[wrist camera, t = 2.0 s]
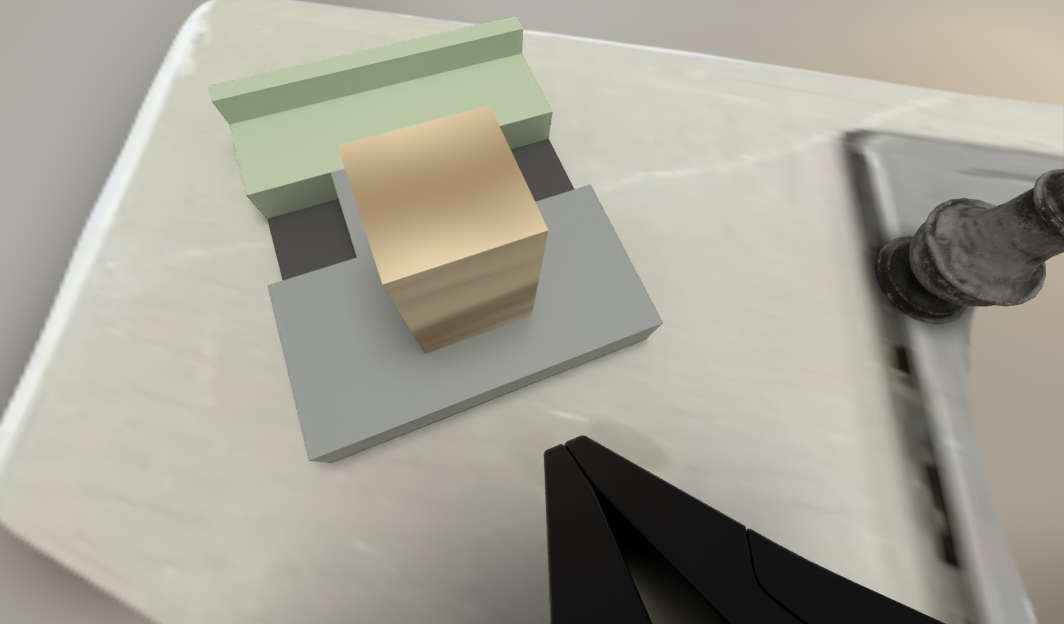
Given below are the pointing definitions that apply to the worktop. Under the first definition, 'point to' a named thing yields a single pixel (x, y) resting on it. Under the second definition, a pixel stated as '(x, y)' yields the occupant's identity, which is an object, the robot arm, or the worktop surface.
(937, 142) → the worktop surface
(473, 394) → the board
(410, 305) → the beech block
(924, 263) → the salt shaker
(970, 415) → the worktop surface
